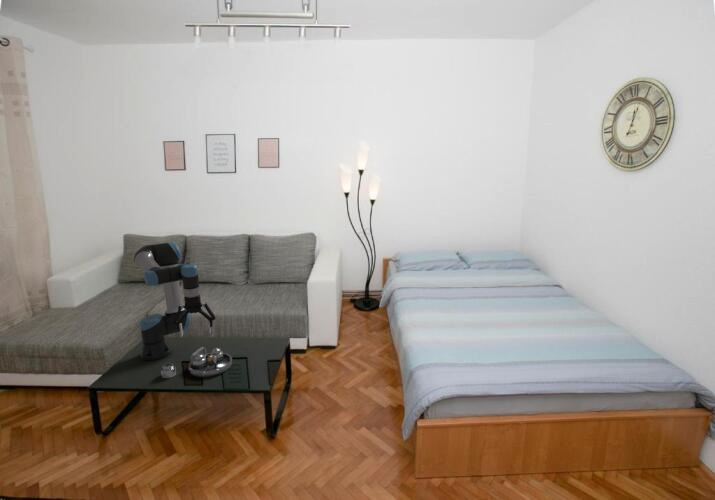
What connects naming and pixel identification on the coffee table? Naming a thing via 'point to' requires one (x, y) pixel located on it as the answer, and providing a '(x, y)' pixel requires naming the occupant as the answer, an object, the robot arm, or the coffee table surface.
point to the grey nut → (168, 370)
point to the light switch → (199, 351)
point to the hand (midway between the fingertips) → (196, 334)
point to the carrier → (210, 363)
